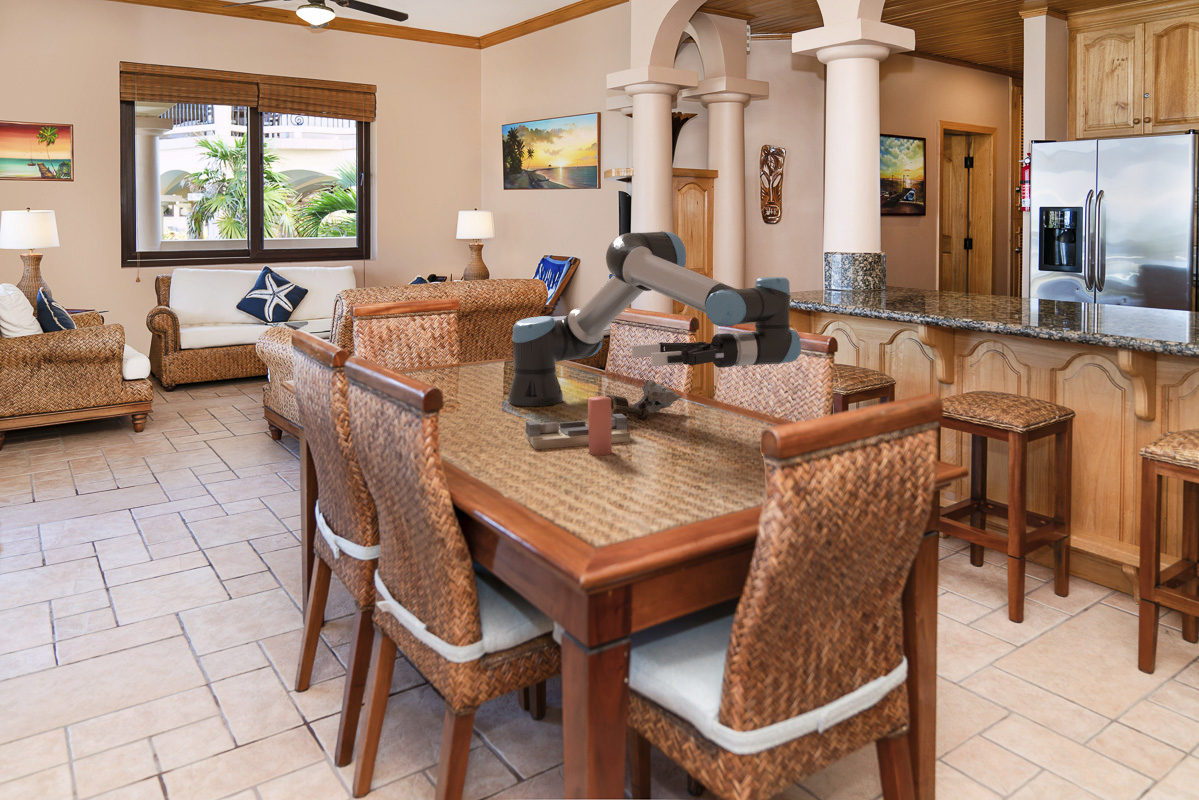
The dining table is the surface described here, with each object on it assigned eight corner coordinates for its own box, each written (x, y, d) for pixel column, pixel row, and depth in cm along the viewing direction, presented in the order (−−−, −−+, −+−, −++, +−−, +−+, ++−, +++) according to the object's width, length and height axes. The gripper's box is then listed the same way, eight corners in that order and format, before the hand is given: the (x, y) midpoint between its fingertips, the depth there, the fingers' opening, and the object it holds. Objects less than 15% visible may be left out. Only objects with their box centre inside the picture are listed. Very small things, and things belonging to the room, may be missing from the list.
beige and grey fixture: (523, 437, 212) (522, 417, 211) (617, 429, 218) (616, 410, 217) (533, 449, 200) (532, 428, 199) (632, 441, 206) (631, 420, 205)
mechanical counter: (594, 396, 230) (599, 395, 220) (643, 390, 232) (650, 388, 222) (598, 424, 230) (603, 424, 220) (647, 418, 232) (654, 417, 222)
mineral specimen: (645, 427, 240) (661, 431, 229) (619, 405, 238) (634, 409, 227) (669, 394, 242) (687, 396, 231) (644, 372, 239) (661, 374, 228)
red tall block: (584, 452, 197) (583, 398, 195) (601, 448, 200) (600, 395, 198) (599, 456, 193) (598, 401, 191) (616, 452, 196) (615, 398, 194)
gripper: (756, 374, 190) (660, 381, 184) (710, 359, 213) (625, 364, 208) (756, 339, 188) (660, 345, 183) (710, 327, 212) (624, 332, 206)
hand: (641, 355), depth 195 cm, fingers open, 13 cm apart
